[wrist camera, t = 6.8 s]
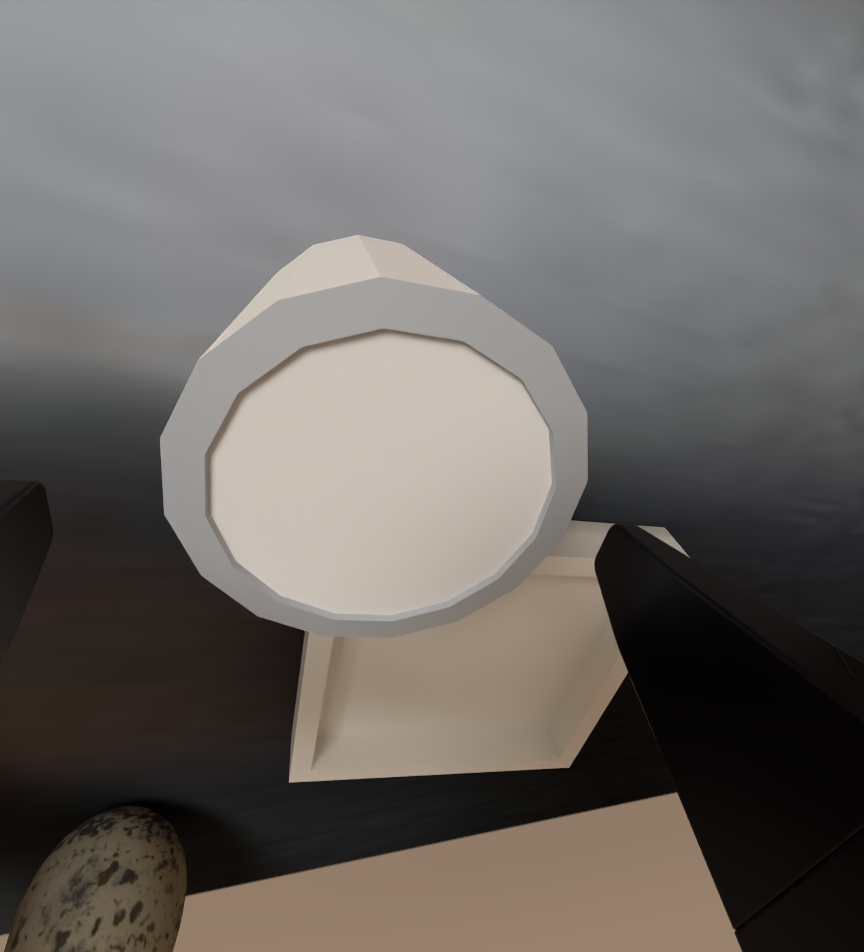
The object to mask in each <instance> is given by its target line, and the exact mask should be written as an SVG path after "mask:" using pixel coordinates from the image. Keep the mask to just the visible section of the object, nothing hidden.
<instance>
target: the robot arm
mask: <svg viewBox="0 0 864 952" xmlns="http://www.w3.org/2000/svg"><path fill="white" fill-rule="evenodd" d="M52 536H53V527H52V521H51V516H50V511H49V506H48V501H47V496H46V491H45V488H44V486H43V484H42V483H40V482H39V481H36V480H26V479H12V478H7V479H2V480H0V662H1V660H2V659H3V657H4V655H5V653H6V651H7V649H8V647H9V645H10V643H11V641H12V639H13V637H14V635H15V632H16V630H17V628H18V625H19V623H20V621H21V618H22V616H23V613H24V611H25V608H26V606H27V603H28V600H29V598H30V595H31V593H32V590H33V588H34V585H35V583H36V580H37V578H38V575H39V573H40V570H41V568H42V565H43V563H44V560H45V557H46V555H47V552H48V550H49V547H50V545H51V541H52ZM594 568H595V573H596V577H597V580H598V583H599V587H600V590H601V594H602V597H603V600H604V604H605V607H606V610H607V614H608V617H609V621H610V624H611V627H612V631H613V634H614V637H615V640H616V643H617V646H618V648H619V651H620V654H621V656H622V659H623V661H624V664H625V666H626V669H627V671H628V673H629V676H630V678H631V681H632V683H633V686H634V688H635V691H636V693H637V695H638V698H639V700H640V703H641V705H642V708H643V710H644V712H645V715H646V717H647V720H648V722H649V725H650V727H651V730H652V732H653V734H654V737H655V739H656V742H657V744H658V747H659V749H660V751H661V754H662V756H663V759H664V761H665V764H666V766H667V769H668V771H669V773H670V776H671V778H672V781H673V783H674V786H675V788H676V790H677V793H678V795H679V798H680V800H681V802H682V805H683V807H684V810H685V812H686V814H687V817H688V820H689V822H690V824H691V827H692V829H693V832H694V834H695V837H696V839H697V841H698V844H699V846H700V849H701V851H702V854H703V856H704V859H705V861H706V863H707V866H708V868H709V871H710V873H711V876H712V878H713V880H714V883H715V885H716V888H717V890H718V893H719V895H720V898H721V900H722V902H723V905H724V907H725V910H726V912H727V915H728V917H729V920H730V922H731V924H732V927H733V928H734V929H735V930H736V931H735V935H736V938H737V940H738V943H739V945H740V947H741V950H742V952H864V663H863V662H861V661H860V660H858V659H856V658H855V657H853V656H851V655H850V654H848V653H846V652H845V651H843V650H842V649H840V648H838V647H836V646H832V644H831V643H830V642H828V641H827V640H825V639H823V638H822V637H820V636H818V635H817V634H815V633H813V632H812V631H810V630H808V629H807V628H805V627H803V626H802V625H800V624H798V623H797V622H795V621H794V620H792V619H790V618H789V617H787V616H785V615H784V614H782V613H780V612H779V611H777V610H775V609H774V608H772V607H770V606H769V605H767V604H766V603H764V602H762V601H761V600H759V599H757V598H756V597H754V596H752V595H751V594H749V593H747V592H746V591H744V590H742V589H741V588H739V587H738V586H736V585H734V584H733V583H731V582H729V581H728V580H726V579H724V578H723V577H721V576H719V575H718V574H716V573H714V572H713V571H711V570H710V569H708V568H706V567H705V566H703V565H701V564H700V563H698V562H696V561H695V560H693V559H691V558H690V557H688V556H686V555H685V554H683V553H681V552H680V551H678V550H677V549H675V548H673V547H672V546H670V545H668V544H667V543H665V542H663V541H662V540H660V539H658V538H657V537H655V536H653V535H652V534H650V533H649V532H647V531H645V530H644V529H642V528H640V527H639V526H637V525H633V524H619V523H617V524H614V525H612V526H611V527H610V528H609V530H608V532H607V534H606V536H605V538H604V540H603V542H602V545H601V547H600V549H599V551H598V553H597V555H596V557H595V562H594Z"/></svg>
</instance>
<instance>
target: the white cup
mask: <svg viewBox="0 0 864 952" xmlns="http://www.w3.org/2000/svg"><path fill="white" fill-rule="evenodd" d="M160 448H161V466H162V483H163V500H164V515H165V516H166V518H167V520H168V521H169V523H170V525H171V526H172V528H173V530H174V531H175V533H176V535H177V536H178V538H179V540H180V541H181V543H182V545H183V546H184V548H185V550H186V551H187V553H188V555H189V556H190V558H191V560H192V561H193V563H194V565H195V566H196V568H197V569H198V571H199V573H200V574H201V576H203V577H204V578H205V579H207V580H208V581H210V582H211V583H212V584H214V585H215V586H216V587H218V588H219V589H221V590H222V591H223V592H225V593H226V594H228V595H229V596H230V597H232V598H233V599H234V600H236V601H237V602H239V603H240V604H241V605H243V606H244V607H246V608H247V609H248V610H250V611H251V612H252V613H254V614H255V615H257V616H258V617H262V618H265V619H268V620H272V621H275V622H278V623H281V624H285V625H288V626H291V627H294V628H298V629H301V630H304V631H308V632H311V633H314V634H317V635H321V636H324V637H388V638H393V637H397V636H401V635H405V634H409V633H413V632H417V631H421V630H425V629H429V628H433V627H437V626H441V625H445V624H449V623H453V622H457V621H459V620H461V619H463V618H465V617H466V616H468V615H470V614H472V613H473V612H475V611H477V610H479V609H481V608H482V607H484V606H486V605H488V604H489V603H491V602H493V601H495V600H497V599H498V598H500V597H502V596H504V595H505V594H507V593H509V592H511V591H512V590H514V589H516V588H517V587H518V586H519V585H520V584H521V583H522V582H523V581H524V580H525V579H526V578H527V577H528V576H529V575H530V573H531V572H532V571H533V570H534V569H535V568H536V567H537V566H538V565H539V564H540V563H541V562H542V561H543V560H544V559H545V558H546V557H547V556H548V555H549V554H550V552H551V551H552V550H553V549H554V548H555V547H556V546H557V545H558V544H559V543H560V542H561V541H562V539H563V536H564V534H565V532H566V530H567V527H568V525H569V523H570V520H571V518H572V516H573V514H574V511H575V509H576V507H577V504H578V502H579V500H580V497H581V495H582V493H583V491H584V488H585V486H586V484H587V481H588V447H587V412H586V410H585V408H584V406H583V404H582V402H581V400H580V398H579V396H578V394H577V392H576V390H575V389H574V387H573V385H572V383H571V381H570V379H569V377H568V375H567V373H566V371H565V369H564V368H563V366H562V364H561V362H560V360H559V358H558V356H557V354H556V352H555V350H554V348H553V346H551V345H550V344H549V343H547V342H546V341H544V340H543V339H542V338H540V337H539V336H537V335H536V334H535V333H533V332H532V331H530V330H529V329H527V328H526V327H525V326H523V325H522V324H520V323H519V322H518V321H516V320H515V319H513V318H512V317H511V316H509V315H508V314H506V313H505V312H504V311H502V310H501V309H499V308H498V307H497V306H495V305H494V304H492V303H491V302H489V301H488V300H487V299H485V298H484V297H482V296H481V295H480V294H478V293H477V292H475V291H473V290H472V289H470V288H469V287H467V286H466V285H464V284H463V283H461V282H460V281H458V280H457V279H455V278H454V277H452V276H451V275H449V274H448V273H446V272H445V271H443V270H442V269H440V268H438V267H437V266H435V265H434V264H432V263H431V262H429V261H428V260H426V259H425V258H423V257H422V256H420V255H419V254H417V253H416V252H414V251H413V250H411V249H410V248H408V247H406V246H405V245H403V244H400V243H395V242H390V241H385V240H380V239H375V238H370V237H366V236H361V235H356V236H351V237H347V238H342V239H338V240H333V241H329V242H324V243H320V244H315V245H312V246H311V247H310V248H309V249H307V250H306V251H305V252H303V253H302V254H301V255H299V256H298V257H297V258H295V259H294V260H293V261H292V262H290V263H289V264H288V265H286V266H285V267H284V268H282V269H281V270H280V271H278V272H277V273H276V274H275V275H274V277H273V278H272V279H271V280H270V281H269V282H268V283H267V284H266V285H265V287H264V288H263V289H262V290H261V291H260V292H259V293H258V294H257V295H256V297H255V298H254V299H253V300H252V301H251V302H250V303H249V304H248V305H247V307H246V308H245V309H244V310H243V311H242V312H241V313H240V314H239V315H238V317H237V318H236V319H235V320H234V321H233V322H232V323H231V324H230V325H229V326H228V328H227V329H226V330H225V331H224V332H223V333H222V334H221V335H220V336H219V338H218V339H217V340H216V341H215V342H214V343H213V344H212V345H211V346H210V348H209V349H208V350H207V351H206V352H205V353H204V354H203V355H202V356H201V358H200V359H199V360H198V361H197V363H196V365H195V367H194V370H193V372H192V374H191V376H190V378H189V380H188V382H187V384H186V386H185V388H184V390H183V392H182V394H181V396H180V398H179V400H178V402H177V404H176V406H175V408H174V410H173V413H172V415H171V417H170V419H169V421H168V423H167V425H166V427H165V429H164V431H163V433H162V435H161V437H160Z"/></svg>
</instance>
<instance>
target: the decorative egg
mask: <svg viewBox="0 0 864 952" xmlns="http://www.w3.org/2000/svg"><path fill="white" fill-rule="evenodd" d="M186 883H187V873H186V861H185V855H184V850H183V847H182V844H181V841H180V839H179V837H178V835H177V833H176V831H175V829H174V828H173V826H172V825H171V824H170V823H169V821H168V820H167V819H166V818H164V817H163V816H162V815H160V814H159V813H157V812H155V811H153V810H151V809H148V808H145V807H140V806H122V807H117V808H113V809H109V810H107V811H104V812H102V813H99V814H97V815H95V816H93V817H92V818H90V819H88V820H87V821H85V822H84V823H82V824H81V825H79V826H78V827H77V828H75V829H74V830H73V831H72V832H70V833H69V834H68V835H67V836H66V837H65V838H64V839H63V840H62V841H61V842H60V843H59V844H58V845H57V846H56V847H55V848H54V849H53V851H52V852H51V853H50V854H49V856H48V857H47V858H46V860H45V861H44V862H43V864H42V865H41V867H40V868H39V870H38V871H37V873H36V875H35V876H34V878H33V880H32V881H31V883H30V885H29V887H28V889H27V891H26V893H25V895H24V897H23V899H22V901H21V904H20V906H19V908H18V910H17V913H16V916H15V919H14V921H13V924H12V927H11V930H10V933H9V937H8V940H7V944H6V947H5V951H4V952H173V949H174V945H175V942H176V938H177V935H178V931H179V927H180V923H181V918H182V914H183V907H184V901H185V895H186Z"/></svg>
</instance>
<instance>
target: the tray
mask: <svg viewBox="0 0 864 952" xmlns="http://www.w3.org/2000/svg"><path fill="white" fill-rule="evenodd" d="M612 525H614V524H612V523H599V522H585V521H572V520H570V523H569V525H568V527H567V530H566V532H565V534H564V536H563V539H562V541H561V542H560V543H559V544H558V545H557V546H556V547H555V548H554V549H553V550H552V551H551V552H550V554H549V555H548V556H547V557H546V558H545V559H544V560H543V561H542V562H541V563H540V564H539V565H538V566H537V567H536V568H535V569H534V570H533V571H532V572H531V573H530V575H529V576H528V577H527V578H526V579H525V580H524V581H523V582H522V583H521V584H520V585H519V586H518V587H517V588H516V589H514V590H512V591H511V592H509V593H507V594H505V595H504V596H502V597H500V598H498V599H497V600H495V601H493V602H491V603H489V604H488V605H486V606H484V607H482V608H481V609H479V610H477V611H475V612H473V613H472V614H470V615H468V616H466V617H465V618H463V619H461V620H459V621H457V622H453V623H449V624H445V625H441V626H437V627H433V628H429V629H425V630H421V631H417V632H413V633H409V634H405V635H401V636H397V637H393V638H388V637H324V636H321V635H317V634H314V633H311V632H308V631H305V635H304V643H303V650H302V658H301V666H300V674H299V681H298V689H297V697H296V705H295V713H294V720H293V728H292V736H291V754H290V771H289V782H306V781H325V780H344V779H363V778H382V777H400V776H419V775H438V774H457V773H476V772H495V771H513V770H532V769H551V768H569V767H570V766H571V764H572V762H573V761H574V759H575V757H576V756H577V754H578V753H579V751H580V749H581V748H582V746H583V745H584V743H585V741H586V740H587V738H588V736H589V735H590V733H591V732H592V730H593V728H594V727H595V725H596V724H597V722H598V720H599V719H600V717H601V715H602V714H603V712H604V711H605V709H606V707H607V706H608V704H609V702H610V701H611V699H612V698H613V696H614V694H615V693H616V691H617V690H618V688H619V686H620V685H621V683H622V681H623V680H624V678H625V677H626V675H627V673H628V671H627V669H626V666H625V664H624V661H623V659H622V656H621V654H620V651H619V648H618V646H617V643H616V640H615V637H614V634H613V631H612V627H611V624H610V621H609V617H608V614H607V610H606V607H605V604H604V600H603V597H602V594H601V590H600V587H599V583H598V580H597V577H596V573H595V568H594V562H595V557H596V555H597V553H598V551H599V549H600V547H601V545H602V542H603V540H604V538H605V536H606V534H607V532H608V530H609V528H610V527H611V526H612ZM637 526H638V525H637ZM639 527H640V528H642V529H644V530H645V531H647V532H649V533H650V534H652V535H653V536H655V537H657V538H658V539H660V540H662V541H663V542H665V543H667V544H668V545H670V546H672V547H673V548H675V549H677V550H678V551H680V552H681V553H683V554H685V555H686V556H688V555H687V554H686V553H685V551H684V550H683V549H682V548H681V547H680V545H679V544H678V543H677V542H676V541H675V539H674V538H673V537H672V536H671V535H670V533H669V532H668V531H667V530H666V529H665V528H664V527H651V526H639ZM688 557H689V556H688Z"/></svg>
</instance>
